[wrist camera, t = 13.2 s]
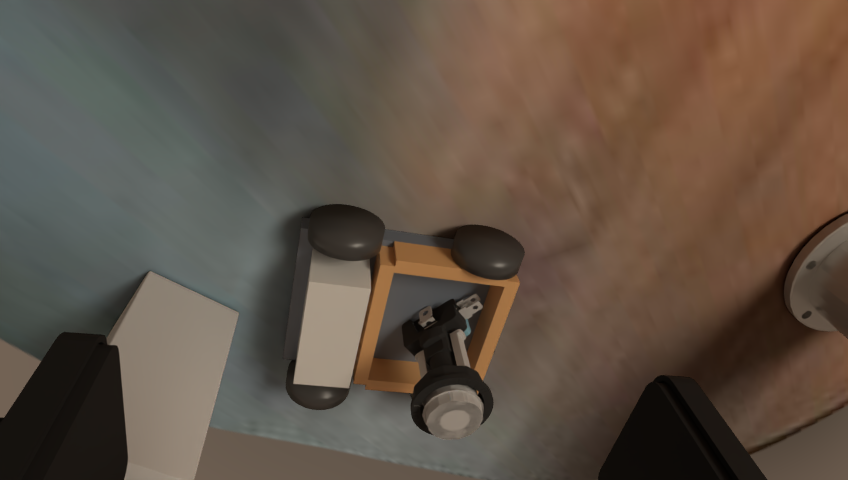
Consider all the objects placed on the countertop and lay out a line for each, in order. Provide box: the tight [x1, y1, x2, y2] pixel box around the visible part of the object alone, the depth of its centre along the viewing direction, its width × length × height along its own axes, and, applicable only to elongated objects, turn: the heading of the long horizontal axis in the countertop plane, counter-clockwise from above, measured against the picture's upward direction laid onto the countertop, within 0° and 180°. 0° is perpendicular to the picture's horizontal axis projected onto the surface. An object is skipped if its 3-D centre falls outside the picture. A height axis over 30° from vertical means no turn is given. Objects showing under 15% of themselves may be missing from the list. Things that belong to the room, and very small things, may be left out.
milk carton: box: [107, 271, 239, 480], centre depth 35 cm, size 7×7×19 cm
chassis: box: [283, 204, 525, 410], centre depth 42 cm, size 16×15×6 cm
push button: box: [402, 294, 493, 440], centre depth 39 cm, size 7×5×10 cm
